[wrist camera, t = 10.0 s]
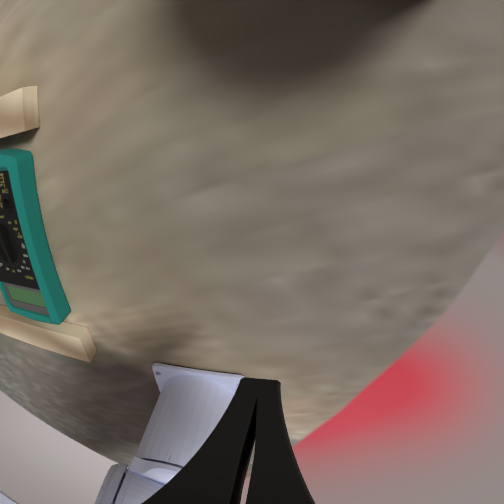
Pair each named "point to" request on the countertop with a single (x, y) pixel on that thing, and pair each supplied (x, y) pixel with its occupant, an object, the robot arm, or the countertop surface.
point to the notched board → (3, 320)
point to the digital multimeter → (26, 245)
